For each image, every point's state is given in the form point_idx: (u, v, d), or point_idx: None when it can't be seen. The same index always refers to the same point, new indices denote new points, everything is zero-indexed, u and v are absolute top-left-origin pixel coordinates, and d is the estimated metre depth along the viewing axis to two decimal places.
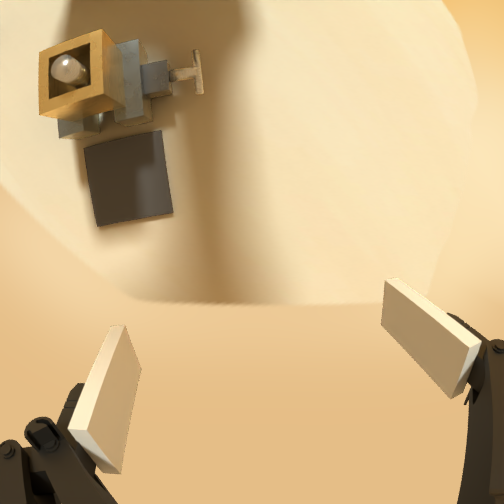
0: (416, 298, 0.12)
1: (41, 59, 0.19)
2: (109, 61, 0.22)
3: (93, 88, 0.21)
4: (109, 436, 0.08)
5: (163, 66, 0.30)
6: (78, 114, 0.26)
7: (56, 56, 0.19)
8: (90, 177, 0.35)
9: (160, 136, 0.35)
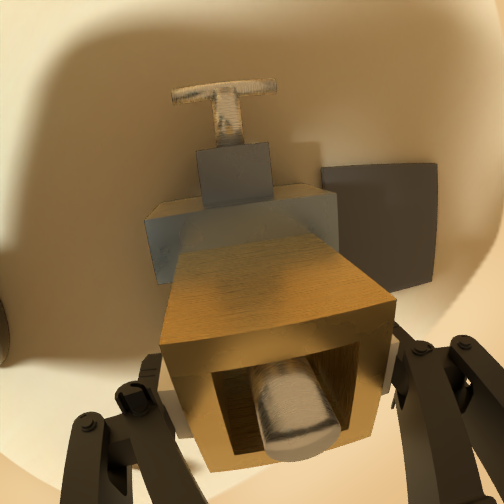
0: None
1: (234, 466, 0.10)
2: (253, 291, 0.10)
3: (373, 331, 0.09)
4: None
5: (212, 158, 0.16)
6: None
7: (230, 438, 0.10)
8: None
9: (334, 169, 0.20)
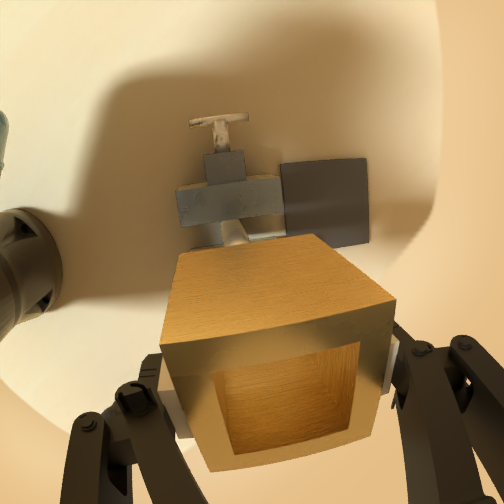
0: None
1: (234, 466, 0.10)
2: (253, 291, 0.10)
3: (372, 331, 0.09)
4: None
5: (212, 159, 0.29)
6: None
7: (230, 438, 0.10)
8: None
9: (288, 164, 0.33)
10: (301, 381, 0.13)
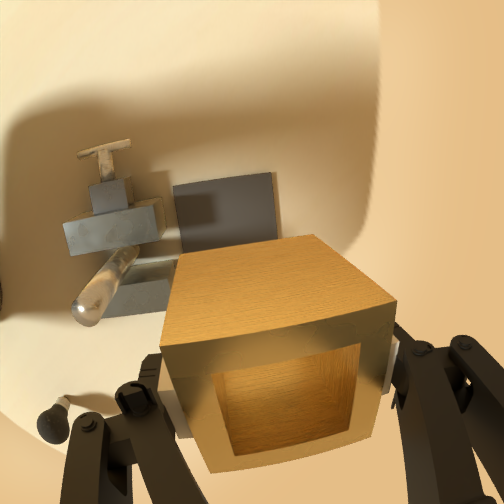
0: None
1: (234, 467, 0.10)
2: (254, 292, 0.10)
3: (373, 332, 0.09)
4: None
5: (96, 189, 0.28)
6: None
7: (230, 439, 0.10)
8: None
9: (180, 186, 0.32)
10: (302, 381, 0.13)
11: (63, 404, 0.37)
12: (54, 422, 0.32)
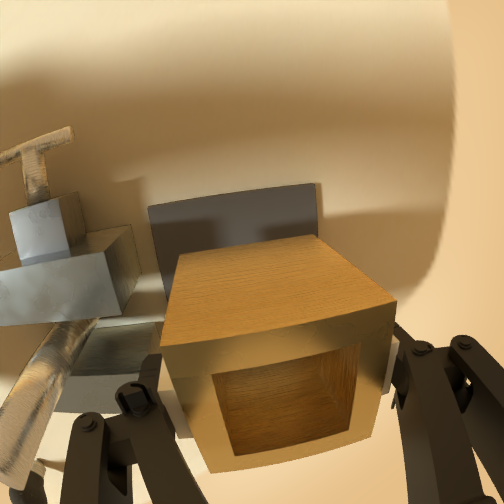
0: None
1: (234, 466, 0.10)
2: (254, 292, 0.10)
3: (373, 333, 0.09)
4: None
5: (19, 218, 0.14)
6: None
7: (230, 439, 0.10)
8: None
9: (160, 207, 0.18)
10: (302, 381, 0.13)
11: (37, 471, 0.23)
12: (27, 497, 0.18)
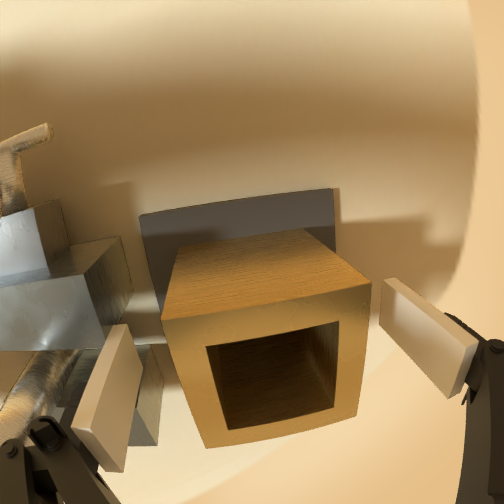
0: (414, 298, 0.12)
1: (228, 441, 0.11)
2: (244, 276, 0.12)
3: (350, 311, 0.10)
4: (112, 434, 0.08)
5: None
6: None
7: (224, 413, 0.11)
8: None
9: (153, 216, 0.16)
10: (291, 364, 0.15)
11: None
12: None
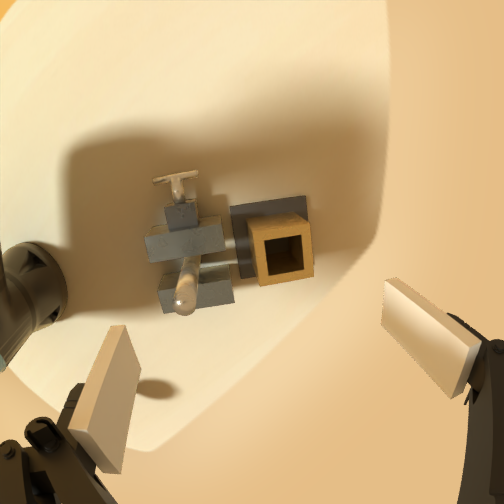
0: (416, 298, 0.12)
1: (268, 282, 0.38)
2: (273, 224, 0.38)
3: (304, 232, 0.36)
4: (109, 436, 0.08)
5: (171, 210, 0.38)
6: None
7: None
8: None
9: (235, 207, 0.42)
10: (290, 261, 0.41)
11: None
12: None
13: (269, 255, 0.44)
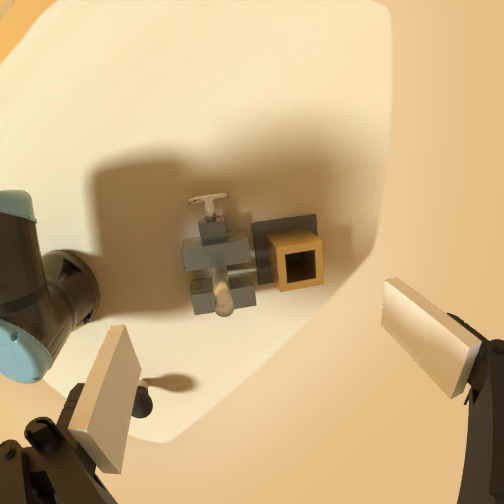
0: (416, 298, 0.12)
1: (286, 288, 0.45)
2: (291, 240, 0.46)
3: (317, 247, 0.44)
4: (109, 436, 0.08)
5: (204, 226, 0.45)
6: None
7: None
8: None
9: (257, 223, 0.50)
10: (303, 270, 0.49)
11: (144, 385, 0.55)
12: (143, 399, 0.49)
13: None
